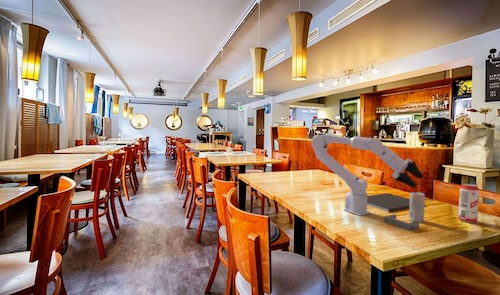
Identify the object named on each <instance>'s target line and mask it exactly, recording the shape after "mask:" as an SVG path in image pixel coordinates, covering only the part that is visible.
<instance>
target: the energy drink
mask: <svg viewBox="0 0 500 295" xmlns="http://www.w3.org/2000/svg"><path fill="white" fill-rule="evenodd" d="M409 199H410V205H409V209H408V220H409V221H410V222H414V221H418V222H419V224H420V223H424V222H425V206H426V203H425V200H426V196H425V193H423V192H419V191H418V192H417V191H412V192H411V191H410V193H409ZM424 205H425V206H424Z"/></svg>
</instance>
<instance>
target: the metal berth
mask: <svg viewBox="0 0 500 295" xmlns="http://www.w3.org/2000/svg"><path fill="white" fill-rule="evenodd" d="M383 223H385V224H389V225H390V226H394V227H397V228H400V229H403V230H405V231H407V232H410V231H414V230H417V229H419V228H420V223H419V222H418V221H414V222H413V221H410V222H406V221H402V220H400V219H397V214H394V213H393V214H390V215H385V216H384V217H383Z"/></svg>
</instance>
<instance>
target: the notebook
mask: <svg viewBox="0 0 500 295" xmlns="http://www.w3.org/2000/svg"><path fill="white" fill-rule="evenodd" d="M409 205H410V197H409V198H408V197H404V196H400V195H397V194H392V193H387V192H386V193H380V194H372V195H367V207H371V208H375V209H377V210H381V211H384V212H388V213H392V212H399V211H402V210H403V211H404V210H409ZM425 206H426V204H425V205H424V207H425Z"/></svg>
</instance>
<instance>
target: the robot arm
mask: <svg viewBox="0 0 500 295" xmlns="http://www.w3.org/2000/svg"><path fill="white" fill-rule="evenodd" d="M333 143H336V144H344V145H350V146H351V148H352V149H357V150H362V151H368V150H369V151H370V152H371V153H374V154H375V155H377V157H378V158H379V159H380V160H381V161H383V162H384V163H385V164H386V165H387V166H389V167H390V168H391V169H392V170H393V171H394V172H393V173H392V174H391V177H392V178H394V181H396V182H399V183H402V184H405V185H406V186H408V187H410V188H412V189H414V188H416V187H417V186H418V184H417V183H416V182H415V181H414V180H413V179H412V178H411V176H410V175H409V174H411V175H413V177H415V178H417V179H418V180H421V179H423V178H424V177H425V176H424V175H423V173H422V172H421V171H420V169H419V168H418V166H417V163H416V161H414V160H413V161H412V160H411V159H410V158H406V159H405V160H404V159H402V158H401V157H400V156H399V155H398V154H396V153H395V152H394V151H393V150H392V149H390V148H389V147H388V146H386V144H383V142H382V141H381V140H380V139H378V138H373V139H372V137H371V136H369V137H363V136H361V135H360V134H359V135H357V136H355V135H354V136H353V137H352V138H350V137H345V136H340V135H335V134H315V135H314V136H312V138H311V147H312V149H313V152H314V154H315V156H316V158H317V160H319V161H320V162H321V163H322V164H324V165H325V166H326V167H327V168H328V169H330V170H331V171H332V172H333V173H335V175H337V177H339V178H340V179H341V180H342V181H344V182H345V183H346V185H347V187H349V188H350V190H351V191H348V192H347V193H346V195H345V196H344V197H345V199H344V202H345V203H344V208H343V211H344V212H348V213H352V214H353V215H358V216H359V217H361V216H365V215H369V214H372V212H371V211H370V210H369V211H368V205H367V196H369V194H368V193H367V191H366V190H367V189H368V182H367V181H366V180H365V179H364V178H360V177H358V176H357V175H355V174H353V173H352V172H351V171H350V170H348V169H347V168H345V167H344V165H342V164H341V163H340V162H338V161H337V160H336V159H334V158H333V157H332V155H330V154H329V153H328V145H330V144H333ZM408 173H409V174H408Z"/></svg>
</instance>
